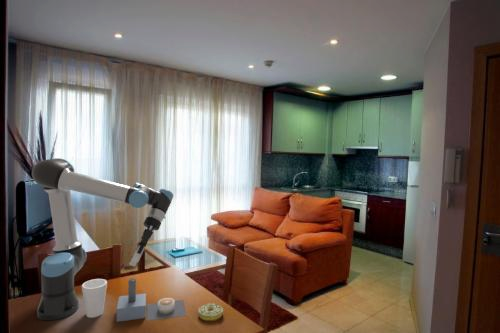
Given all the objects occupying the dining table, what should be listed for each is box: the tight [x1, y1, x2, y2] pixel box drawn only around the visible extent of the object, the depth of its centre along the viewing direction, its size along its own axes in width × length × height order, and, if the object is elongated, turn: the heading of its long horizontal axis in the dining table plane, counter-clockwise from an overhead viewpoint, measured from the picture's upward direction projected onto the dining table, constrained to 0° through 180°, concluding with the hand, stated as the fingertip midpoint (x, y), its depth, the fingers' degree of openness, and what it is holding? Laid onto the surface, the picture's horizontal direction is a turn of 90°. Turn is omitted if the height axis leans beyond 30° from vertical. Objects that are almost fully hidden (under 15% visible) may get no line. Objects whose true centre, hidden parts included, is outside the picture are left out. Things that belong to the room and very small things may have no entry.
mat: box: [146, 299, 187, 322], centre depth 135 cm, size 16×14×1 cm
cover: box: [116, 278, 147, 323], centre depth 131 cm, size 11×11×15 cm
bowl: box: [157, 297, 176, 314], centre depth 135 cm, size 7×7×4 cm
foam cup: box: [81, 278, 108, 319], centre depth 130 cm, size 10×9×13 cm
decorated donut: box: [197, 302, 224, 322], centre depth 131 cm, size 10×11×4 cm
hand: (133, 263), depth 135 cm, fingers open, 13 cm apart
